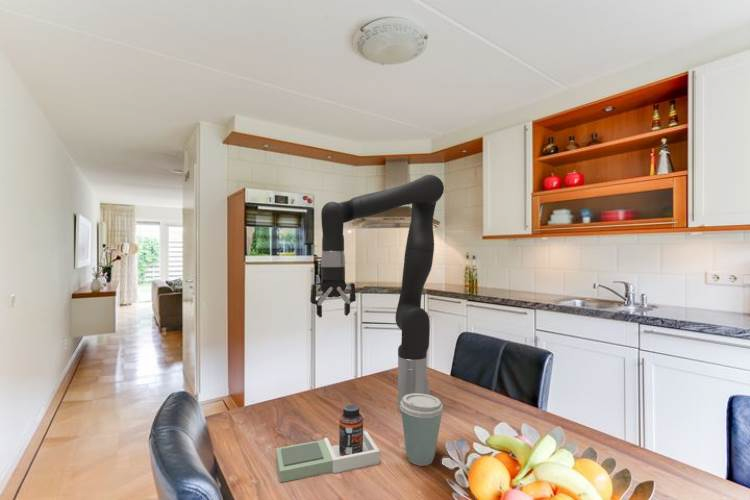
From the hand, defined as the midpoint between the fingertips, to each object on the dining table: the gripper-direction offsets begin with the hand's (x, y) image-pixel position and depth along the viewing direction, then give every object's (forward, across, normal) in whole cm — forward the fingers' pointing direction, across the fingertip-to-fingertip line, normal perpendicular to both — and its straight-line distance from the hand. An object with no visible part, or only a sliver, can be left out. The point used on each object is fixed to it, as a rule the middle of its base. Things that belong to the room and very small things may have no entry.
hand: (333, 316), depth 117 cm
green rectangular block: (+30, +14, +26) cm, 42 cm away
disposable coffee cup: (+30, -14, +34) cm, 48 cm away
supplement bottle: (+30, +2, +26) cm, 40 cm away
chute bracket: (+30, +2, +26) cm, 40 cm away
